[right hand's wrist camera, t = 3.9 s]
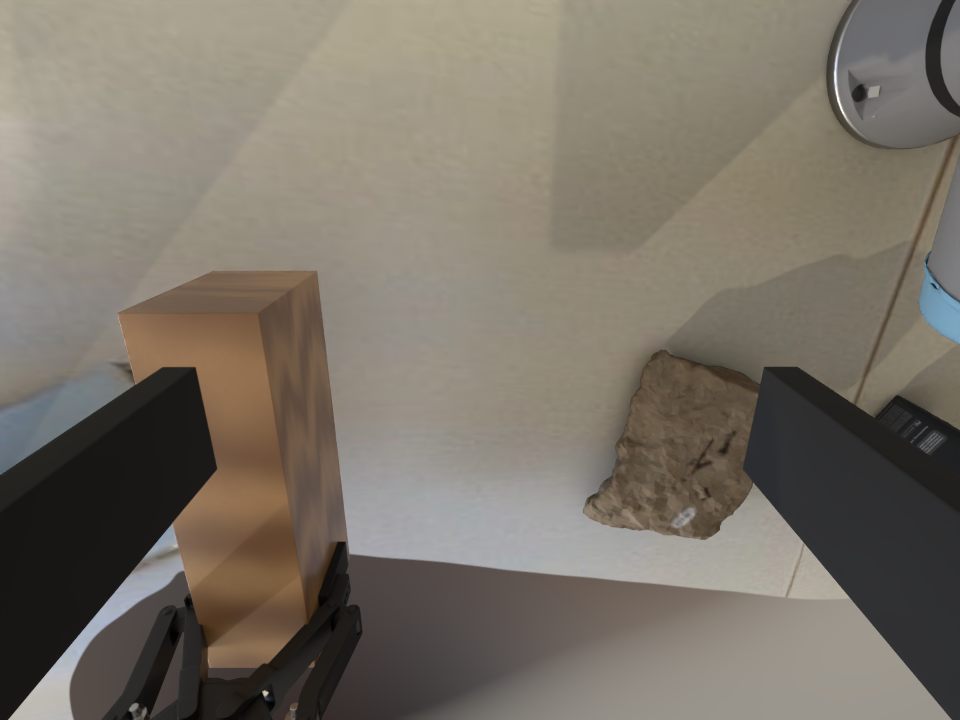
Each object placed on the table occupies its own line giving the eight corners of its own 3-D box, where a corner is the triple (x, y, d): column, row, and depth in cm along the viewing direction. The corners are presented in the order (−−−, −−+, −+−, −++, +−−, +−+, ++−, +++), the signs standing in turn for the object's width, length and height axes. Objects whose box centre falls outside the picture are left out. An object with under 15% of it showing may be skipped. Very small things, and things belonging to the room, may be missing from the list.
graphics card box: (830, 527, 63) (1066, 777, 38) (785, 505, 62) (996, 748, 37) (936, 415, 58) (1294, 620, 32) (888, 389, 57) (1221, 579, 31)
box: (212, 271, 43) (116, 313, 31) (316, 270, 43) (258, 313, 31) (266, 558, 53) (209, 668, 42) (349, 558, 53) (315, 667, 42)
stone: (703, 553, 61) (717, 582, 55) (580, 506, 62) (581, 529, 56) (778, 384, 57) (803, 396, 51) (645, 339, 58) (653, 346, 52)
